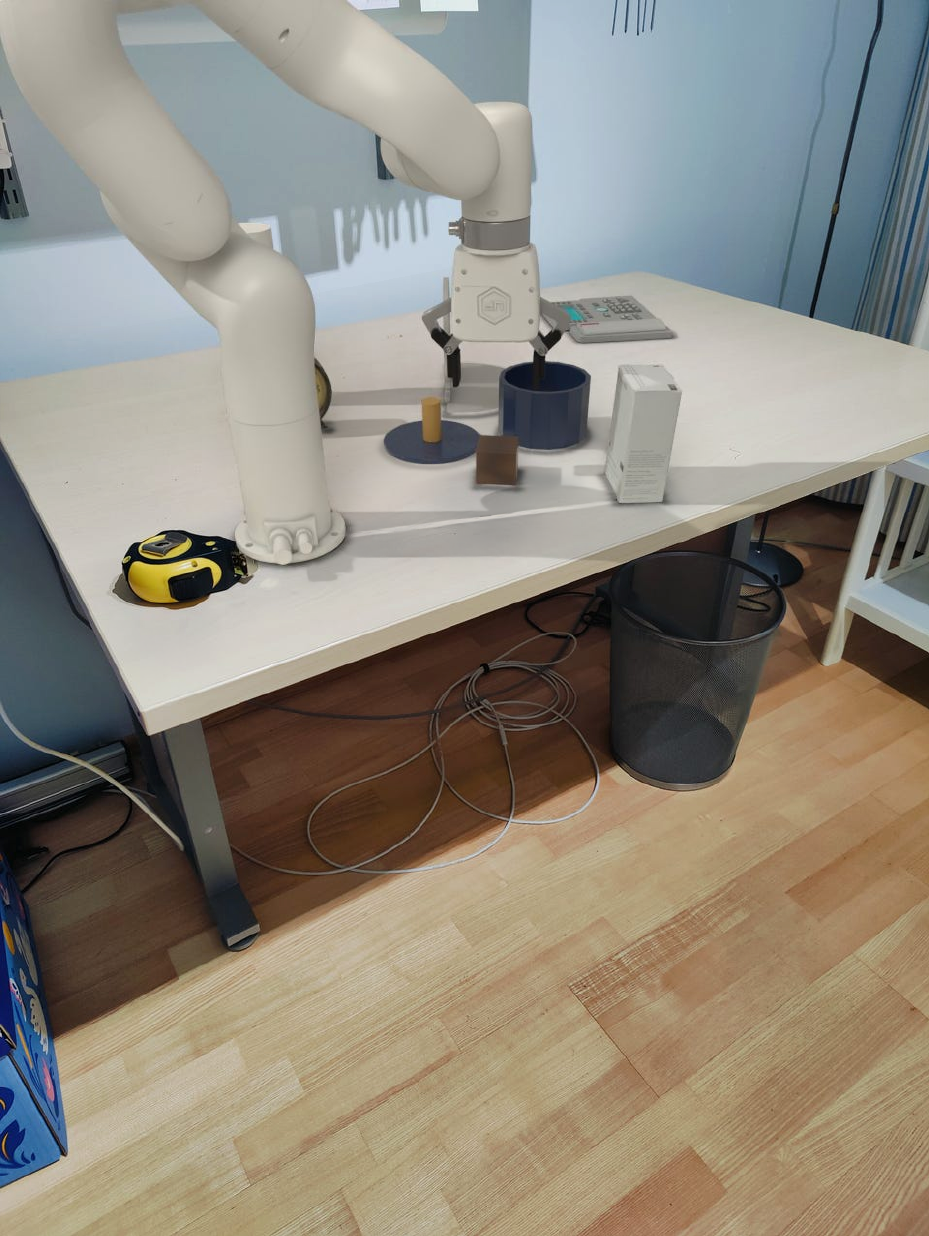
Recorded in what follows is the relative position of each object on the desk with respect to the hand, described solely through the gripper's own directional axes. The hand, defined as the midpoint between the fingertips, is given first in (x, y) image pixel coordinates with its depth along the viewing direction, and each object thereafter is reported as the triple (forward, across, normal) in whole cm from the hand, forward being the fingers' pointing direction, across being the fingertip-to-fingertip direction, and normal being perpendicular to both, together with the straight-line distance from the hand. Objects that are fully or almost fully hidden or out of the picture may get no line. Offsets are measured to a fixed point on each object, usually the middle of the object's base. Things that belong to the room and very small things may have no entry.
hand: (496, 383), depth 105 cm
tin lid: (+12, -10, +8) cm, 17 cm away
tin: (+13, +6, +14) cm, 20 cm away
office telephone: (+14, +15, +67) cm, 70 cm away
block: (+12, 0, -1) cm, 13 cm away
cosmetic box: (+13, +18, -2) cm, 22 cm away
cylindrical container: (+12, -37, +23) cm, 45 cm away
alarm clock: (+12, -30, +12) cm, 34 cm away
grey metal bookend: (+13, -4, +31) cm, 34 cm away
